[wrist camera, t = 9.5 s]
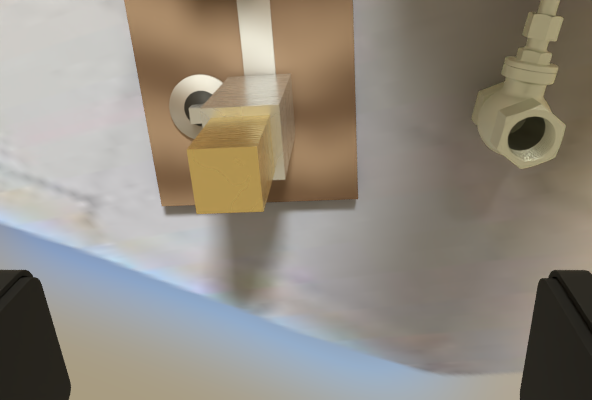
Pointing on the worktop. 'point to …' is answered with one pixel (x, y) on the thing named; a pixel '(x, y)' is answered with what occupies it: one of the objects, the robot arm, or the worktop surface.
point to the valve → (524, 97)
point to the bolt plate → (250, 62)
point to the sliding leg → (241, 143)
